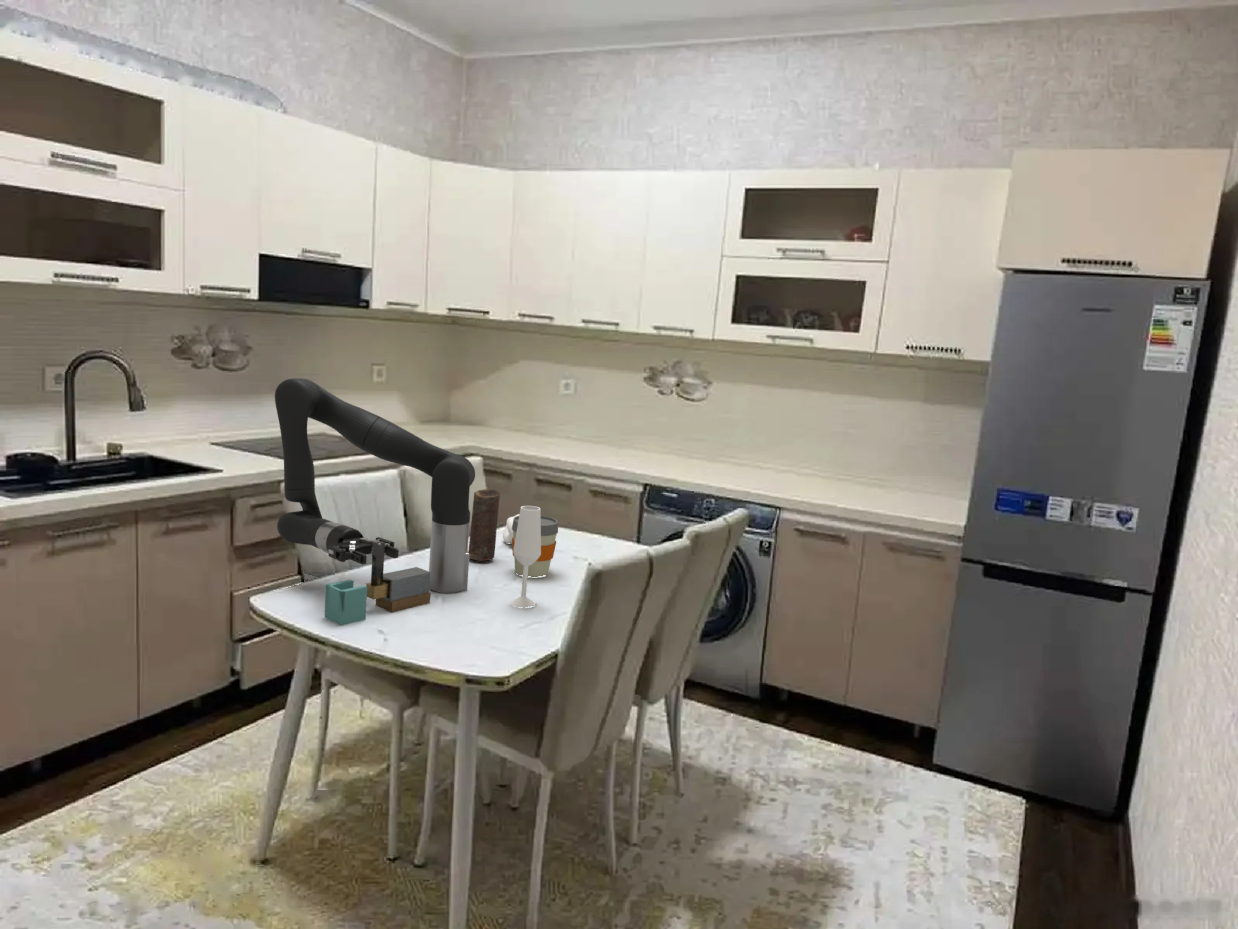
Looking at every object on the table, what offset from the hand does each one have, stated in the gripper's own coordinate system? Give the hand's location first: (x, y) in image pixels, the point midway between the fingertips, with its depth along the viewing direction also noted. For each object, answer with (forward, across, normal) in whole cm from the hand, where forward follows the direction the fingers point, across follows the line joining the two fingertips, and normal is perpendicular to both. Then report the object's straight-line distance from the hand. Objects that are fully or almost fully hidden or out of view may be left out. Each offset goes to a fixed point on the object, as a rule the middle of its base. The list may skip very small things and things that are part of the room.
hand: (381, 556), depth 191 cm
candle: (-18, +48, +13) cm, 52 cm away
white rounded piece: (-23, +68, +13) cm, 73 cm away
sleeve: (-1, +8, +13) cm, 15 cm away
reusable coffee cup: (-1, +51, +13) cm, 52 cm away
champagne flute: (+15, +31, +13) cm, 37 cm away
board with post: (-1, +5, +9) cm, 11 cm away
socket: (-1, -8, +13) cm, 15 cm away
